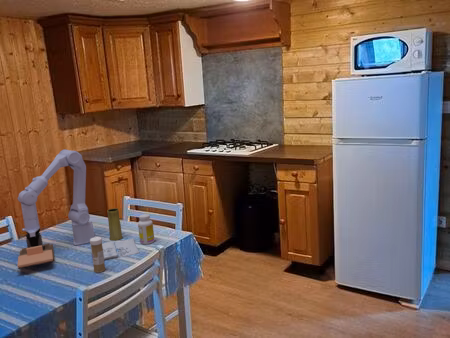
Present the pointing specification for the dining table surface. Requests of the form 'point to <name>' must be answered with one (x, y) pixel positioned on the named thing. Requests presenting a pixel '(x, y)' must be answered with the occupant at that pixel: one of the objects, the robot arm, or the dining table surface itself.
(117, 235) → the vase
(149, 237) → the supplement bottle
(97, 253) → the sprinkles bottle
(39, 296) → the dining table surface
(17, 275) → the dining table surface
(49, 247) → the socket
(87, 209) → the robot arm
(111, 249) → the open book
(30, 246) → the plug
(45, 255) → the panel
